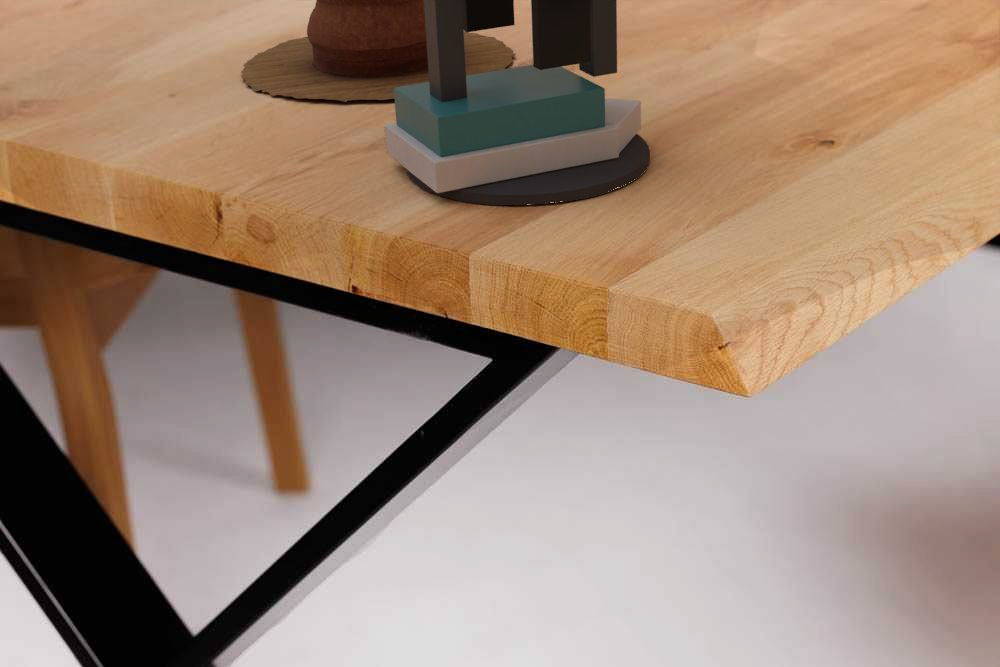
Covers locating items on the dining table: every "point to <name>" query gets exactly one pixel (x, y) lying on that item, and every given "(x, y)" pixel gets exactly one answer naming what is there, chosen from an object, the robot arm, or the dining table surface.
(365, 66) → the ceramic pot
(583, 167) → the swivel rest
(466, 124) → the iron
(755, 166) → the dining table surface
